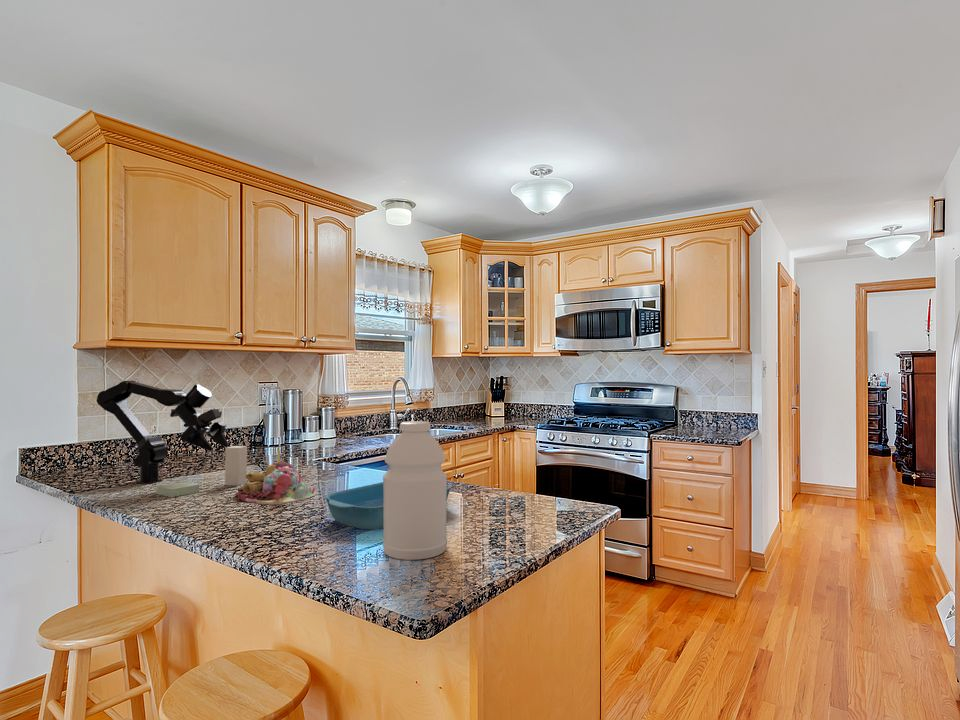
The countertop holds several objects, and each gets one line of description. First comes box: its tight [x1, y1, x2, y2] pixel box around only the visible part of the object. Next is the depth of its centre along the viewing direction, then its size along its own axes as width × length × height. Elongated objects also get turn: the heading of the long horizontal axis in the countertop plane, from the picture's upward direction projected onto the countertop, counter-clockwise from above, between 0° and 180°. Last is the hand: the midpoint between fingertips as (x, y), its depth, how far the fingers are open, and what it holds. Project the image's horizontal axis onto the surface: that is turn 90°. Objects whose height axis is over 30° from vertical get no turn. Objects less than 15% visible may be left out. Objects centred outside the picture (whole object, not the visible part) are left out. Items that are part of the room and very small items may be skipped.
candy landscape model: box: [233, 464, 317, 506], centre depth 174 cm, size 25×24×9 cm
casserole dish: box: [325, 482, 452, 531], centre depth 149 cm, size 37×22×7 cm, turn 141°
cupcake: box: [271, 448, 294, 470], centre depth 195 cm, size 9×8×12 cm
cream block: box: [224, 445, 248, 486], centre depth 191 cm, size 5×5×13 cm
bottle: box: [382, 420, 448, 561], centre depth 119 cm, size 14×14×28 cm
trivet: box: [156, 481, 200, 498], centre depth 176 cm, size 9×9×2 cm
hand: (219, 448), depth 192 cm, fingers open, 9 cm apart
